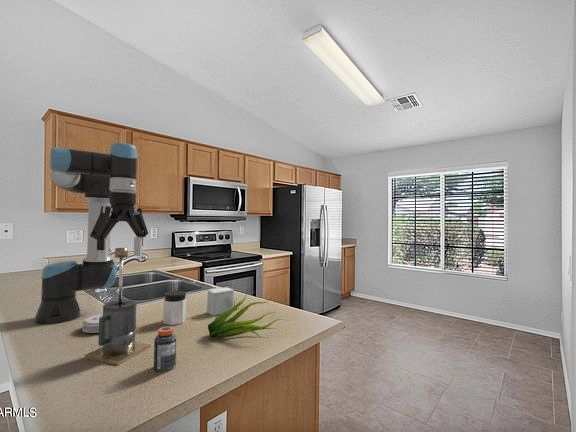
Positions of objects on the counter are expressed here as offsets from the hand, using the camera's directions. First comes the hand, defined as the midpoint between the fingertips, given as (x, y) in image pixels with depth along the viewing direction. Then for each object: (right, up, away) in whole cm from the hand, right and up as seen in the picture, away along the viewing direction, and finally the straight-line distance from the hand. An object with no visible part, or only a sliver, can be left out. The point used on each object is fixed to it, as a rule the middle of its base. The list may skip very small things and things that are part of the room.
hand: (121, 258), depth 97 cm
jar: (+6, -31, +29) cm, 43 cm away
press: (-1, -30, 0) cm, 30 cm away
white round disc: (-19, -30, +20) cm, 41 cm away
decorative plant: (+38, -31, +20) cm, 53 cm away
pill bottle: (+17, -31, -9) cm, 36 cm away
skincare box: (+22, -31, +43) cm, 58 cm away
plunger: (0, -15, 0) cm, 15 cm away
